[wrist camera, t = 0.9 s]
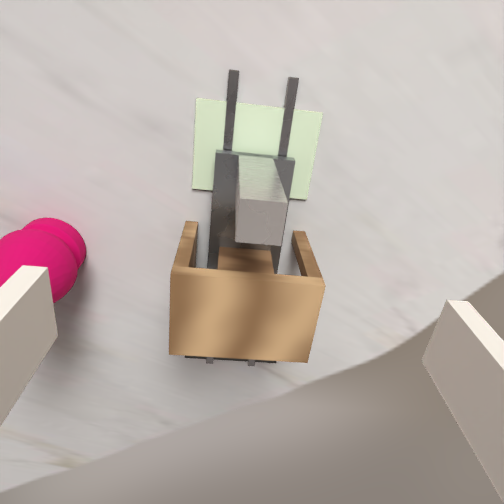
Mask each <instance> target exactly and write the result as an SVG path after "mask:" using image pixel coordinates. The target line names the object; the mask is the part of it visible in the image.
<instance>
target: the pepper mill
mask: <svg viewBox="0 0 504 504" xmlns="http://www.w3.org/2000/svg"><path fill="white" fill-rule="evenodd" d="M85 256H86V247H85V244H84V241H83V239H82V237H81V235H80V234H79V233H78V232H77V230H76V229H74V228H73V227H72V226H71V225H69V224H67V223H65V222H64V221H61V220H58V219H54V218H40V219H37V220H34V221H32V222H30V223H29V224H27V225H26V226H25V227H24V228H23V229H22V230H17V231H14V232H11V233H9V234H7V235H6V236H4V237H3V238H2V239H1V240H0V287H1V286H2V285H3V284H4V283H5V282H6V281H7V280H8V279H9V278H10V277H11V276H12V275H13V274H14V273H15V272H16V271H17V270H18V269H19V268H20V267H21V266H22V265H26V266H38V267H48V272H49V279H50V285H51V292H52V299H53V303H55V302H56V301H58V300H60V299H61V298H62V297H64V296H65V295H66V293H67V292H68V291H69V290H70V289H71V288H72V286H73V285H74V283H75V280H76V277H77V270H78V269H79V267H80V266H81V264H82V263H83V261H84V259H85Z"/></svg>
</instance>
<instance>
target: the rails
mask: <svg viewBox="0 0 504 504" xmlns="http://www.w3.org/2000/svg"><path fill="white" fill-rule="evenodd" d="M238 77H239V71H237V70H229V80H228V92H227V105H226V118H225V131H224V143H223V150H226V151H232V144H233V133H234V121H235V110H236V99H237V88H238ZM298 80H299V78H294V77H289V78H288V85H287V92H286V99H285V106H284V108H285V109H284V116H283V123H282V130H281V137H280V144H279V150H278V156H283V157H287V152H288V145H289V139H290V132H291V126H292V119H293V113H294V106H295V100H296V93H297V87H298ZM206 363H210V364H213V357H207V360H206ZM254 365H255V360H253V359H248V366H254Z"/></svg>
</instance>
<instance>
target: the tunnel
mask: <svg viewBox="0 0 504 504" xmlns="http://www.w3.org/2000/svg"><path fill="white" fill-rule="evenodd" d="M197 233H198V222H192V221H186V222H185V226H184V229H183V233H182V236H181V240H180V243H179V246H178V250H177V253H176V257H175V260H174V264H173V267H172V271H171V277H170V327H169V355H186V356H203V357H219V358H236V359H253V360H269V361H286V362H303V363H307V362H308V358H309V354H310V350H311V345H312V341H313V337H314V333H315V328H316V324H317V320H318V316H319V311H320V307H321V303H322V299H323V295H324V290H325V283H324V280H323V278H322V275H321V273H320V270H319V267H318V265H317V262H316V259H315V257H314V254H313V251H312V249H311V246H310V244H309V241H308V238H307V236H306V233H305V232H304V231H293V235H292V245H293V248H294V252H295V255H296V259H297V262H298V265H299V269H300V272H301V276H293V275H280V274H267V273H255V272H242V271H229V270H217V269H204V268H196V251H197Z"/></svg>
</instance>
